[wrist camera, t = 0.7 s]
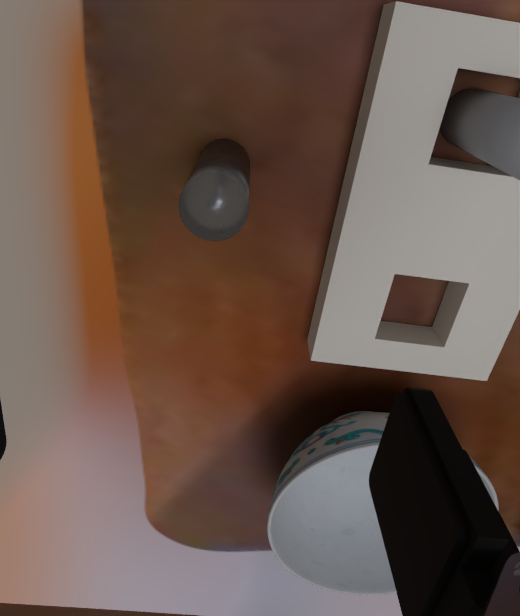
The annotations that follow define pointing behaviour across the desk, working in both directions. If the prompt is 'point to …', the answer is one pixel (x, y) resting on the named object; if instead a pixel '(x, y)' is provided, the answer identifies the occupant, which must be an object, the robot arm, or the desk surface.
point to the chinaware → (335, 509)
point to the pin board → (427, 201)
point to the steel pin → (217, 191)
